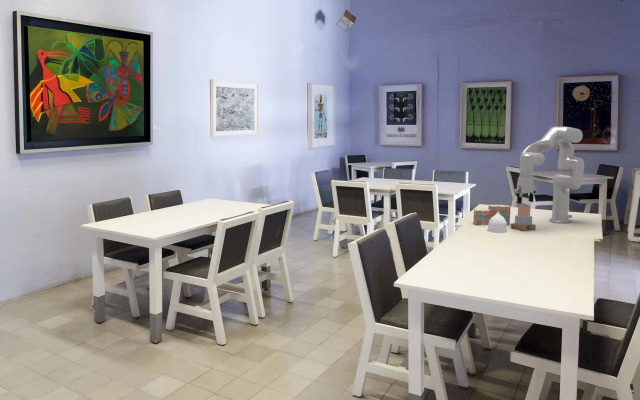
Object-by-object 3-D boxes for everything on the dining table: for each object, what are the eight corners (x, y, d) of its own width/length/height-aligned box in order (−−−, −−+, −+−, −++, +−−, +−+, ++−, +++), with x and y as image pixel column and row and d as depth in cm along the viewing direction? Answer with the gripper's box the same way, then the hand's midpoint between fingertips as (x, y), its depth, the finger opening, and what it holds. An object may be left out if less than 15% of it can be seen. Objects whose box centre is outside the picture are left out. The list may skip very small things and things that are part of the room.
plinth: (522, 226, 342) (522, 222, 342) (535, 229, 333) (535, 224, 333) (510, 228, 338) (511, 223, 337) (523, 231, 329) (523, 226, 328)
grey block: (523, 222, 340) (523, 214, 339) (531, 224, 333) (532, 216, 333) (514, 223, 336) (515, 215, 336) (523, 225, 330) (524, 217, 329)
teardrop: (483, 230, 331) (484, 211, 329) (494, 228, 338) (495, 209, 336) (499, 233, 322) (500, 213, 321) (510, 231, 329) (511, 211, 327)
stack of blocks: (475, 225, 348) (476, 206, 346) (473, 223, 354) (474, 204, 352) (509, 225, 346) (510, 206, 344) (507, 223, 353) (508, 204, 351)
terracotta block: (523, 214, 337) (524, 205, 337) (530, 216, 333) (530, 206, 332) (517, 215, 335) (518, 205, 334) (524, 216, 331) (524, 207, 330)
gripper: (531, 172, 337) (530, 200, 340) (510, 174, 330) (509, 203, 333) (541, 173, 331) (540, 201, 334) (520, 176, 323) (519, 204, 326)
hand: (525, 202), depth 333 cm, fingers open, 9 cm apart
